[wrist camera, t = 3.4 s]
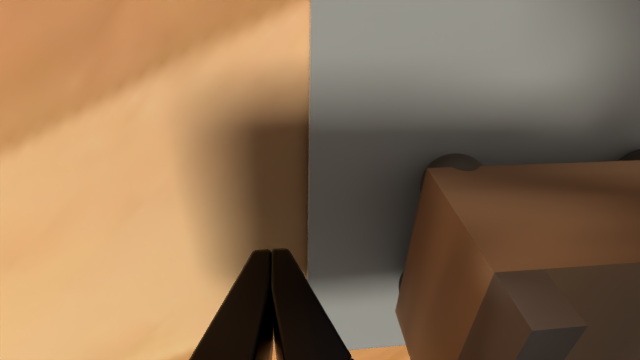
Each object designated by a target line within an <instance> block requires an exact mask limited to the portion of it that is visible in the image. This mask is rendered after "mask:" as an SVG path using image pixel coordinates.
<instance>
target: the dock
mask: <svg viewBox="0 0 640 360" xmlns="http://www.w3.org/2000/svg"><path fill="white" fill-rule="evenodd" d="M638 149H640V0H310V49H309V147H308V245H307V281H308V283H309V285H310V286H311V288H312V290H313V292H314V293H315V295H316V297H317V298H318V300H319V302H320V303H321V305H322V307H323V308H324V310H325V312H326V314H327V315H328V317H329V319H330V320H331V322H332V324H333V325H334V327H335V329H336V331H337V332H338V334H339V336H340V337H341V339H342V341H343V342H344V344H345V346H346V348H347V349H348V350H356V349H367V348H378V347H390V346H401V345H406V344H405V341H404V338H403V334H402V331H401V328H400V325H399V322H398V319H397V316H396V313H395V309H396V305H397V300H398V296H399V287H398V286H399V279H400V276H401V274H402V272H403V271H404V269H405V264H406V260H407V255H408V251H409V246H410V242H411V237H412V233H413V228H414V224H415V219H416V215H417V210H418V206H419V201H420V197H421V192H420V182H421V178H422V175H423V173H424V171H425V169H426V168H427V166H428V165H429V164H430V163H431V162H433V161H434V160H435V159H437V158H439V157H441V156H443V155H447V154H454V153H457V154H465V155H468V156H471V157H473V158H475V159H476V160H478V161H479V162H480V163H481V164H482V165H483V166H497V165H524V164H551V163H578V162H605V161H620V160H621V159H622V158H623V157H624V156H625V155H627V154H629V153H631V152H633V151H635V150H638Z"/></svg>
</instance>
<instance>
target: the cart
mask: <svg viewBox="0 0 640 360" xmlns="http://www.w3.org/2000/svg"><path fill="white" fill-rule="evenodd" d="M420 192H421V197H420V201H419V206H418V210H417V215H416V219H415V224H414V228H413V233H412V237H411V242H410V246H409V251H408V255H407V260H406V264H405V269H404V271H403V272H402V274H401V276H400V279H399V286H398V287H399V296H398V300H397V305H396V309H395V313H396V316H397V319H398V322H399V325H400V328H401V331H402V334H403V338H404V341H405V344H406V347H407V350H408V353H409V356H410V359H411V360H640V149H638V150H635V151H633V152H631V153H629V154H627V155H625V156H624V157H623V158H622V159H621V160H620V161H605V162H578V163H551V164H524V165H497V166H483V165H482V164H481V163H480V162H479V161H478V160H476V159H475V158H473V157H471V156H468V155H465V154H457V153H454V154H447V155H443V156H441V157H439V158H437V159H435V160H434V161H433V162H431V163H430V164H429V165H428V166H427V168H426V169H425V171H424V173H423V175H422V178H421V182H420Z"/></svg>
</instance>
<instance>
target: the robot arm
mask: <svg viewBox="0 0 640 360" xmlns="http://www.w3.org/2000/svg"><path fill="white" fill-rule="evenodd" d="M273 339H274V342H275V350H276V357H277V360H354V359H351V354H350V353H349V351H348V349H347V348H346V346H345V344H344V342H343V341H342V339H341V337H340V336H339V334H338V332H337V331H336V329H335V327H334V325H333V324H332V322H331V320H330V319H329V317H328V315H327V314H326V312H325V310H324V308H323V307H322V305H321V303H320V302H319V300H318V298H317V297H316V295H315V293H314V292H313V290H312V288H311V286H310V285H309V283H308V281H307V280H306V278H305V276H304V275H303V273H302V271H301V269H300V268H299V266H298V264H297V263H296V261H295V259H294V258H293V256H292V254H291V253H290V251H289V250H288V249H287V248H282V249H273V250H272V251H270V250H269V249H265V250H255V251H253V252H252V254H251V256H250V257H249V259H248V261H247V262H246V264H245V266H244V268H243V269H242V271H241V273H240V274H239V276H238V278H237V279H236V281H235V283H234V284H233V286H232V288H231V290H230V291H229V293H228V295H227V296H226V298H225V300H224V301H223V303H222V305H221V307H220V308H219V310H218V312H217V313H216V315H215V317H214V318H213V320H212V322H211V323H210V325H209V327H208V329H207V330H206V332H205V334H204V335H203V337H202V339H201V340H200V342H199V344H198V346H197V347H196V349H195V351H194V352H193V354H192V356H191V357H190V359H189V360H272V352H273Z"/></svg>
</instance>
